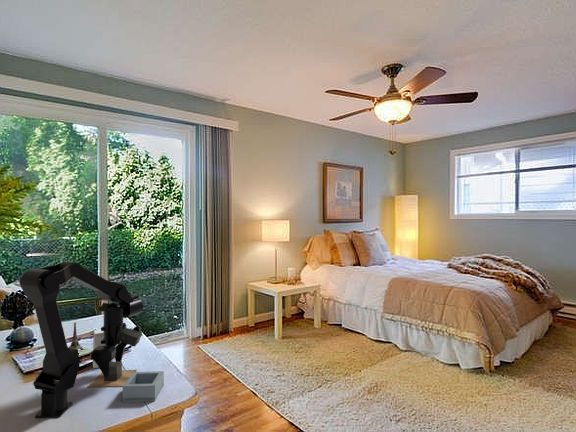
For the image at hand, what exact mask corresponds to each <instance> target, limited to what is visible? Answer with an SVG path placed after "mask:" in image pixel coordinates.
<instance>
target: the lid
mask: <svg viewBox="0 0 576 432" xmlns="http://www.w3.org/2000/svg"><path fill="white" fill-rule="evenodd" d="M134 372H138V370H137V369H127V370H126V369H123V361H120V362H116V361H112V362H111V367H110V373H109V376H108V377H105V376H104V375H103V373H102V372H100V373H99V375H98V376H97V377H95V378H94V379H93V380H92V382H90V383H89V384H88V385H87V387H86V388H91V389H92V388H123V385H124V384H125V383H126V382H127V380H128V379H129V378H130V377H131V375H132V374H133V373H134Z"/></svg>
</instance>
